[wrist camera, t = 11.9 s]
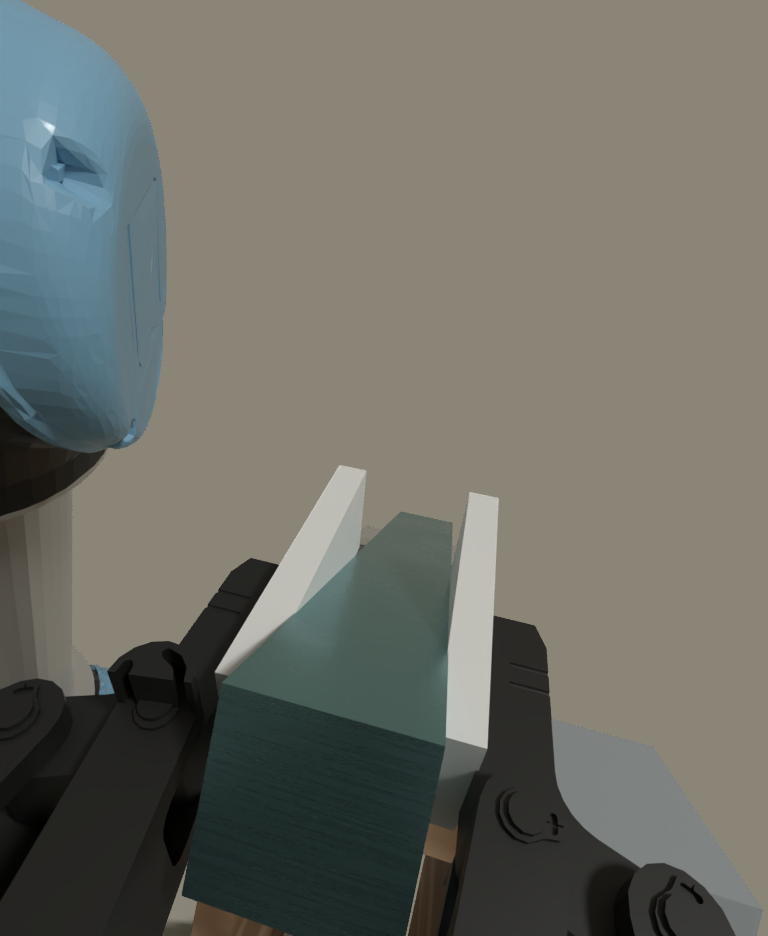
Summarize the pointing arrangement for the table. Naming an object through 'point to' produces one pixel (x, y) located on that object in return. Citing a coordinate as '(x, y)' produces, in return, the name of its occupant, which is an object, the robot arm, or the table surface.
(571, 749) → the pedestal
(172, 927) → the table surface
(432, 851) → the riser
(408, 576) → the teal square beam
